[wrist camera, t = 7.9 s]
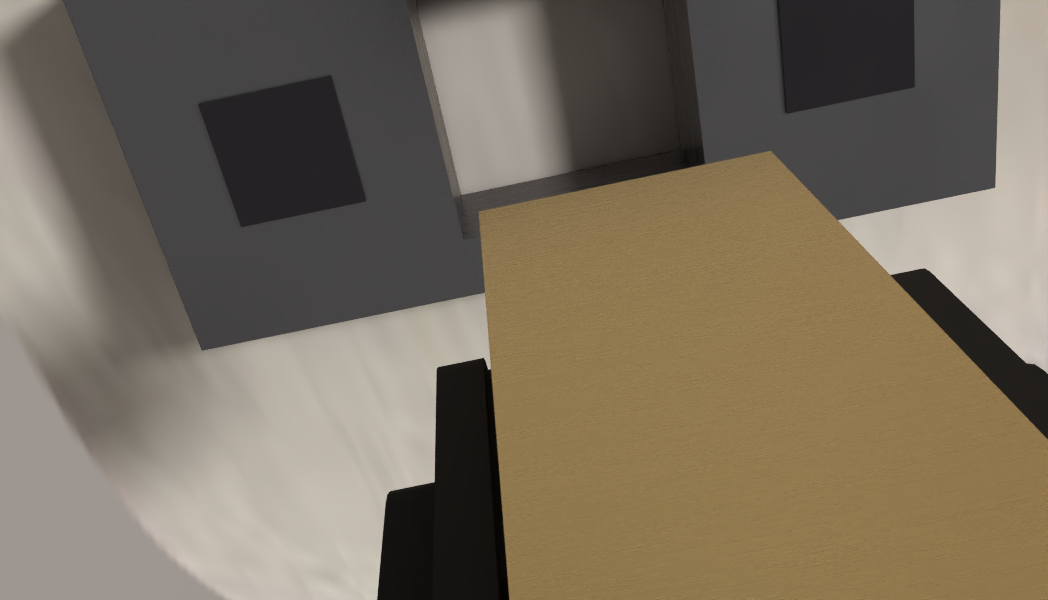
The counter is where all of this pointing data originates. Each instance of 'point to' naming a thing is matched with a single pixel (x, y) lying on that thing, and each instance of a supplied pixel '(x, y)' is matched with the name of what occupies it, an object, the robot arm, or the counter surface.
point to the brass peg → (741, 407)
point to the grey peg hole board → (424, 153)
